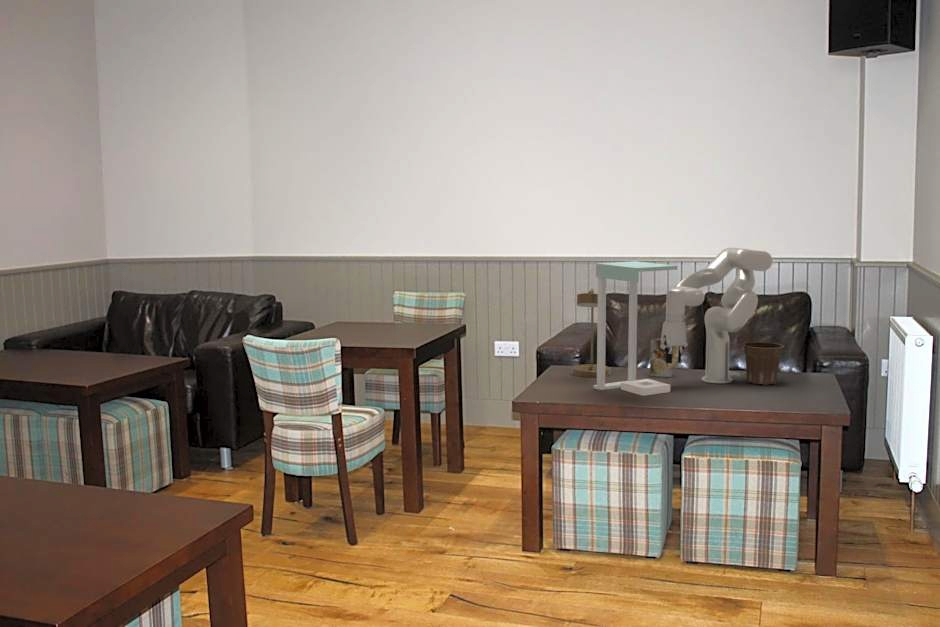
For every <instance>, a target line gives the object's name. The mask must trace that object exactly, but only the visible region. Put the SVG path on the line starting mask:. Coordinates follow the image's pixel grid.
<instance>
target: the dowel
mask: <svg viewBox="0 0 940 627" xmlns="http://www.w3.org/2000/svg"><path fill="white" fill-rule="evenodd" d="M671 354H672V364H669V363H668V368H671V369H672V370H673V369H674V370H675V369H678V368H679V363H678V355H679V346H673V347H672V351H671Z"/></svg>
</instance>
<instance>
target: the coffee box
mask: <svg viewBox="0 0 940 627" xmlns="http://www.w3.org/2000/svg"><path fill="white" fill-rule="evenodd" d="M660 345H661V337H659V338H658V337H657V338H656V337H655V338H653V337H652V338H651V339H650V364H649V365H650V368H649V369H650V372H649V373H650V375H649V376H650V377H658V378H659V377H663V378H671V377H672V376H673V369H671V368H668V363H666V353H665V351H664V350H663V349H662V348H661V347H660ZM665 347H666V345H665ZM668 349H669V348H668Z"/></svg>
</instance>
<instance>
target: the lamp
mask: <svg viewBox="0 0 940 627" xmlns="http://www.w3.org/2000/svg"><path fill="white" fill-rule="evenodd" d="M576 306H578V307H583V308H590V311H591V312H590V319H591V320H590V363H589V364H587V363H586V364H585V363H584V364H577V365H573V366H571V375H573V376H575V377H579V378H580V377H582V378H597V364H594V316H595V314H594V308H598V293H595V292H594V288H590V290H588V292H587V293H586V292H585V293H584V292H583V293H578V294H576ZM610 375H611V367H610V366H608V365H605V377H608V376H610Z"/></svg>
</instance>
